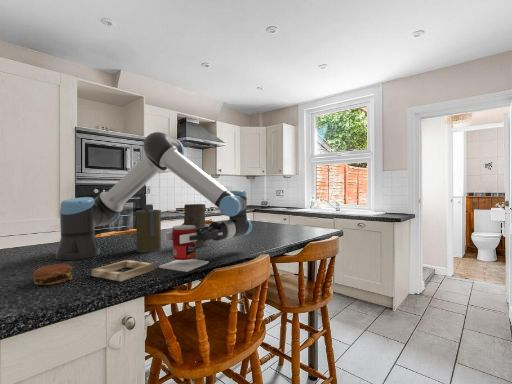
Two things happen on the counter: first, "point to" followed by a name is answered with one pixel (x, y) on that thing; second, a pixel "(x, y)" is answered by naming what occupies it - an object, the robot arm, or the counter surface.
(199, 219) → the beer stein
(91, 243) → the robot arm
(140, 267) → the oak holder frame
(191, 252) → the canned food
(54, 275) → the burger
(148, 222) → the canister
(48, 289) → the counter surface
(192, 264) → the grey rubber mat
